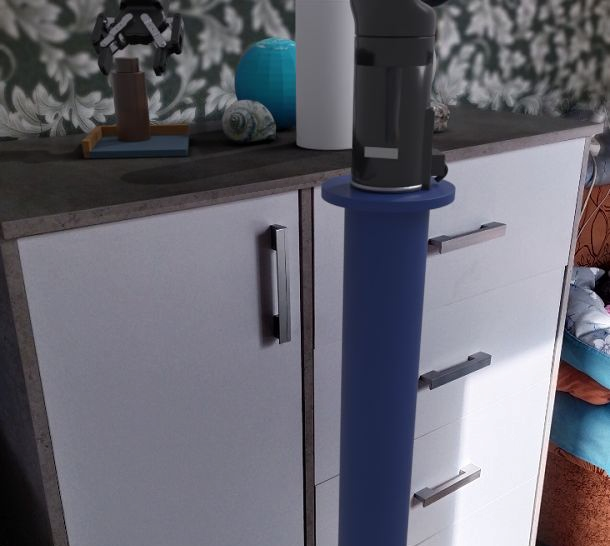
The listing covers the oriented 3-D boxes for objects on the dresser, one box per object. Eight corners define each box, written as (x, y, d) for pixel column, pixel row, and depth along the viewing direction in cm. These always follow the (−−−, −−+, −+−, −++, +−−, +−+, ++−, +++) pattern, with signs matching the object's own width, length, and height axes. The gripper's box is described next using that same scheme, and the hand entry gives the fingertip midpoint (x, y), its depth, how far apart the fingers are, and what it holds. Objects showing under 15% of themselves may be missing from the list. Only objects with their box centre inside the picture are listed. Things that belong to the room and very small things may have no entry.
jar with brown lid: (152, 136, 124) (145, 56, 119) (150, 141, 119) (142, 58, 114) (119, 136, 124) (111, 56, 118) (116, 142, 119) (107, 59, 114)
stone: (362, 129, 133) (404, 139, 127) (367, 94, 131) (410, 103, 124) (413, 130, 142) (455, 139, 135) (419, 97, 139) (461, 105, 132)
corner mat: (189, 139, 127) (188, 123, 126) (186, 156, 114) (185, 138, 113) (97, 141, 126) (95, 125, 125) (84, 158, 112) (81, 140, 111)
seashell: (283, 148, 128) (228, 157, 120) (256, 125, 131) (200, 131, 123) (295, 113, 124) (238, 120, 116) (266, 90, 127) (209, 95, 119)
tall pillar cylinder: (376, 143, 123) (383, -33, 111) (330, 152, 116) (332, -35, 105) (328, 136, 129) (330, -31, 118) (282, 144, 123) (279, -33, 112)
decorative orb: (232, 124, 143) (229, 36, 136) (312, 121, 145) (312, 35, 138) (240, 136, 129) (236, 40, 123) (327, 134, 132) (327, 39, 125)
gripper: (97, -29, 121) (77, 54, 116) (184, -30, 119) (168, 55, 114) (113, 8, 128) (95, 88, 123) (196, 7, 126) (181, 89, 121)
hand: (130, 72), depth 118 cm, fingers open, 8 cm apart
